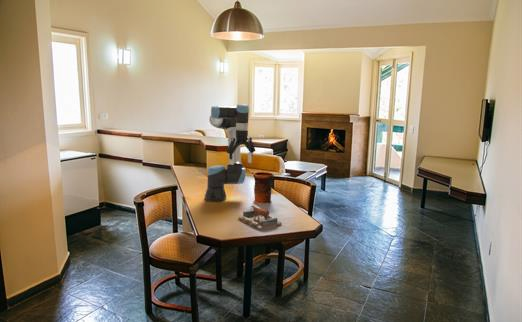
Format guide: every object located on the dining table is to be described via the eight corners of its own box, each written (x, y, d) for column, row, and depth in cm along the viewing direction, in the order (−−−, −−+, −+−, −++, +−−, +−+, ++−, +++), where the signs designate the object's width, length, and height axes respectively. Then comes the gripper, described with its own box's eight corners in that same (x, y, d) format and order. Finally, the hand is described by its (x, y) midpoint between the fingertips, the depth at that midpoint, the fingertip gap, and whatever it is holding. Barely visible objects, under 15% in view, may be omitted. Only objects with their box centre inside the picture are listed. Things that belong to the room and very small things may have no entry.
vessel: (248, 199, 256) (249, 171, 253) (265, 197, 263) (267, 171, 259) (257, 205, 244) (259, 176, 240) (275, 203, 250) (277, 175, 247)
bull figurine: (253, 215, 218) (254, 202, 217) (270, 221, 209) (271, 208, 208) (248, 217, 215) (249, 204, 213) (265, 223, 206) (266, 209, 205)
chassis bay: (238, 219, 216) (238, 212, 215) (259, 214, 225) (259, 207, 225) (259, 230, 199) (260, 222, 199) (281, 225, 209) (282, 217, 208)
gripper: (228, 131, 212) (227, 166, 216) (261, 129, 227) (260, 162, 231) (221, 129, 218) (220, 164, 222) (254, 128, 233) (253, 160, 237)
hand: (240, 163), depth 226 cm, fingers open, 13 cm apart
